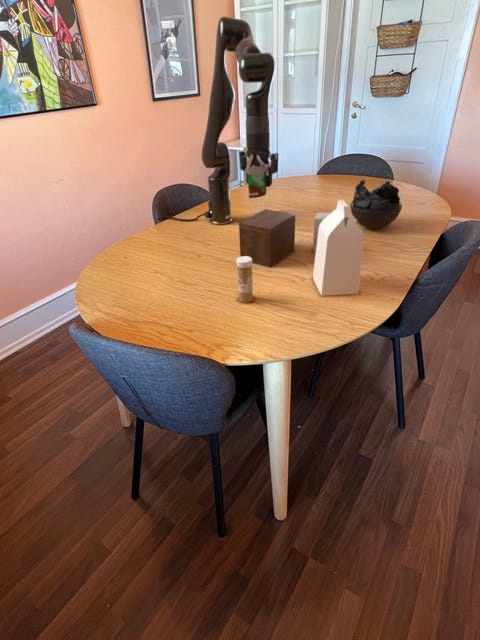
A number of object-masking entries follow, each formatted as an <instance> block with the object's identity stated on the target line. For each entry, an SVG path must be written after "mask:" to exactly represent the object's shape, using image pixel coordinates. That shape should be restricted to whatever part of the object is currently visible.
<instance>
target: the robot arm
mask: <svg viewBox="0 0 480 640" xmlns="http://www.w3.org/2000/svg"><path fill="white" fill-rule="evenodd" d="M226 52H229V53H235V59H236V61H237V63H238V75H239V78H240V79H241V81H242V82H243V83H247V84H254V83H255V84H256V83H261V84H260V86H259V88H258V89H257V90H254V91H252V92H248V93H247V94H246V96H245V138H246V139H245V140H246V141H245V142H246V149H244V150H240V151H239V153H238V154H239V155H238V157H239V168H240V171H242V172H244V173H245V182H246V184H247V185H248V174H247V167H250V166H251V165H252V164H253V165H258V166H261V165H264V168H265V169H266V172H265V173H266V188H270V187H271V186H272V185H273V174H276V173H278V171H279V169H278V168H279V153H278V152H274V153H273V152H271V150H270V147H271V120H270V97H271V96H270V94H271V88H272V84H273V81H274V77H275V72H276V61H275V58H274V56H273V55H272V53H270V52H261V50H260V48H259V47H258V46H257V44H256V43H255V40H254V36H253V32H252V29H251V26H250V24H249V23H248V21H246V20H244V19H240V18H235V17H234V18H233V17H230V16H221V17H220V18H219V20H218V23H217V27H216V36H215V50H214V64H213V65H214V66H213V76H212V82H211V89H210V94H209V95H210V96H209V102H208V103H209V105H208V114H207V122H206V128H205V134H204V137H203V138H204V139H203V143H202V146H201V161H202V164H203V166H204V167H205V168H207V169H214V170H213V171H212V173H211V174H209V176H208V177H207V185H208V186H207V187H208V198H209V199H208V201H207V206H208V210H206V211H204V213H200V214H199V215H197V216H196V217H194V218H189V219H188V218H178V217H176V216H175V217H174V216H169V215H160V216H158V217H157V219H156V220H157V221H159V220H160V219H163V218H164V219H165V218H166V219H171V220H175V221H180V222H194V221H197V220H198V219H200V217H204V218H205V219H209V222H211V224H214V225H227V224H229V223H231V222H232V208H231V207H232V206H231V189H230V177H231V153H230V149H229V146H228V145H227V144H226V143H225V142H221V141H220V138H221V135H222V133H223V131H224V129H225V127H226V126H227V124H228V123H229V121H230V119H231V117H232V115H233V112H234V108H235V107H234V105H235V100H236V91H235V88H234V85H233V82H232V80H231V77H230V75H229V72H228V68H227V64H226ZM265 164H267V165H265ZM267 167H268V168H267Z"/></svg>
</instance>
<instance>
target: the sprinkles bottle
mask: <svg viewBox="0 0 480 640" xmlns="http://www.w3.org/2000/svg"><path fill="white" fill-rule="evenodd" d="M236 267H237V268H236V269H237V290H238V301H239V302H240V303H250V302H252V301H253V300H254V292H253V290H254V288H253V287H254V286H253V285H254V284H253V281H254V279H253V263H252V258H251V257H248V256H242V257H241V256H239V257H237V258H236Z"/></svg>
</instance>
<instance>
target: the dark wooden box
mask: <svg viewBox="0 0 480 640" xmlns="http://www.w3.org/2000/svg"><path fill="white" fill-rule="evenodd" d="M238 233H239V253H240V256H239V257H242V256H248V257H251V258H252V264H257V265H260V266H262V267H263V266H264V267H268V268H272V267H273V266H275V265H276V264H277V263H279V262H280V261H282V260H284V258H286V257H288V256H289V255H290V254H292V253H293V252H294V251H295V245H296V243H295V242H296V241H295V240H296V214H294V213H290V212H285V211H278V210H272V209H268V208H267V209H263V210H260V211H258V212H257V213H255V214H253V215H251V216H249V217H246V219H244V220H241V221H240V222H238Z"/></svg>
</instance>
